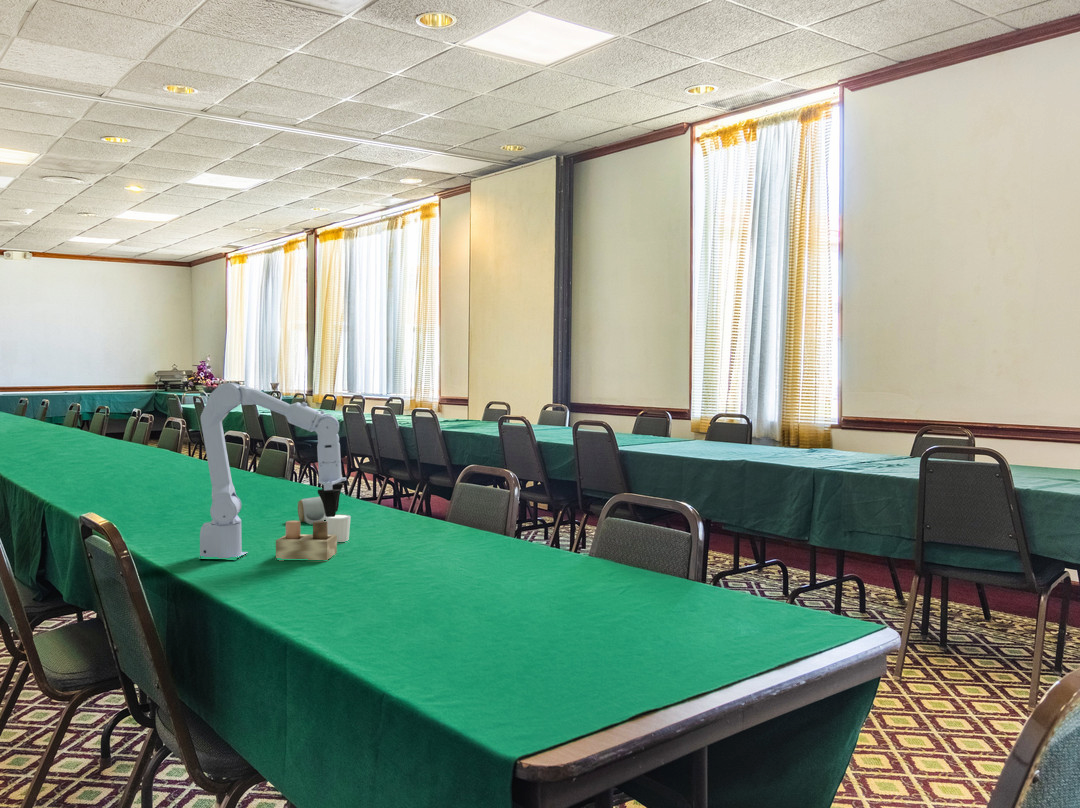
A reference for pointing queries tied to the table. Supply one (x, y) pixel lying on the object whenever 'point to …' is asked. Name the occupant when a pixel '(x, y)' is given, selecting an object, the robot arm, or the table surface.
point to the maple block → (306, 548)
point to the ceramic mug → (311, 510)
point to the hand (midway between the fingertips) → (332, 514)
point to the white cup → (339, 526)
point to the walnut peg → (320, 530)
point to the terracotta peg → (293, 530)
